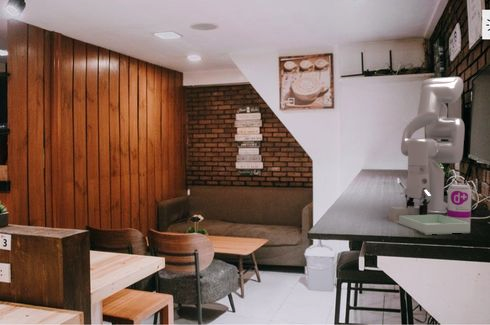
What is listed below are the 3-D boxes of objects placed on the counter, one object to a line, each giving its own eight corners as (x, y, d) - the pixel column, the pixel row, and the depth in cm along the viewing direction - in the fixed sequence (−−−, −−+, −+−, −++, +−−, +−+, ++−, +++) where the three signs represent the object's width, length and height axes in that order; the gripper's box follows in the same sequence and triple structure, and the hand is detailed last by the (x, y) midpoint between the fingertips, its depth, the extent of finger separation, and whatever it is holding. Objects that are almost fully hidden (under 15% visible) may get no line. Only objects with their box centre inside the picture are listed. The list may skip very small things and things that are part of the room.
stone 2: (418, 218, 184) (418, 205, 184) (425, 220, 179) (426, 207, 179) (407, 218, 183) (407, 206, 183) (414, 220, 178) (414, 208, 178)
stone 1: (399, 218, 183) (400, 206, 183) (407, 220, 178) (407, 208, 178) (388, 219, 182) (389, 206, 181) (396, 221, 177) (396, 208, 176)
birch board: (418, 218, 186) (418, 217, 186) (430, 222, 178) (430, 221, 178) (384, 219, 184) (384, 218, 184) (395, 224, 175) (395, 222, 175)
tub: (439, 223, 177) (439, 214, 176) (470, 233, 159) (470, 223, 159) (398, 224, 173) (399, 215, 173) (426, 234, 156) (426, 224, 156)
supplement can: (469, 226, 170) (470, 187, 169) (445, 224, 174) (446, 185, 173) (471, 223, 177) (472, 185, 176) (448, 221, 181) (449, 183, 180)
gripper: (439, 171, 172) (438, 216, 173) (414, 168, 189) (413, 209, 190) (421, 171, 171) (420, 217, 172) (397, 168, 188) (396, 210, 189)
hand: (416, 213), depth 181 cm, fingers open, 8 cm apart
